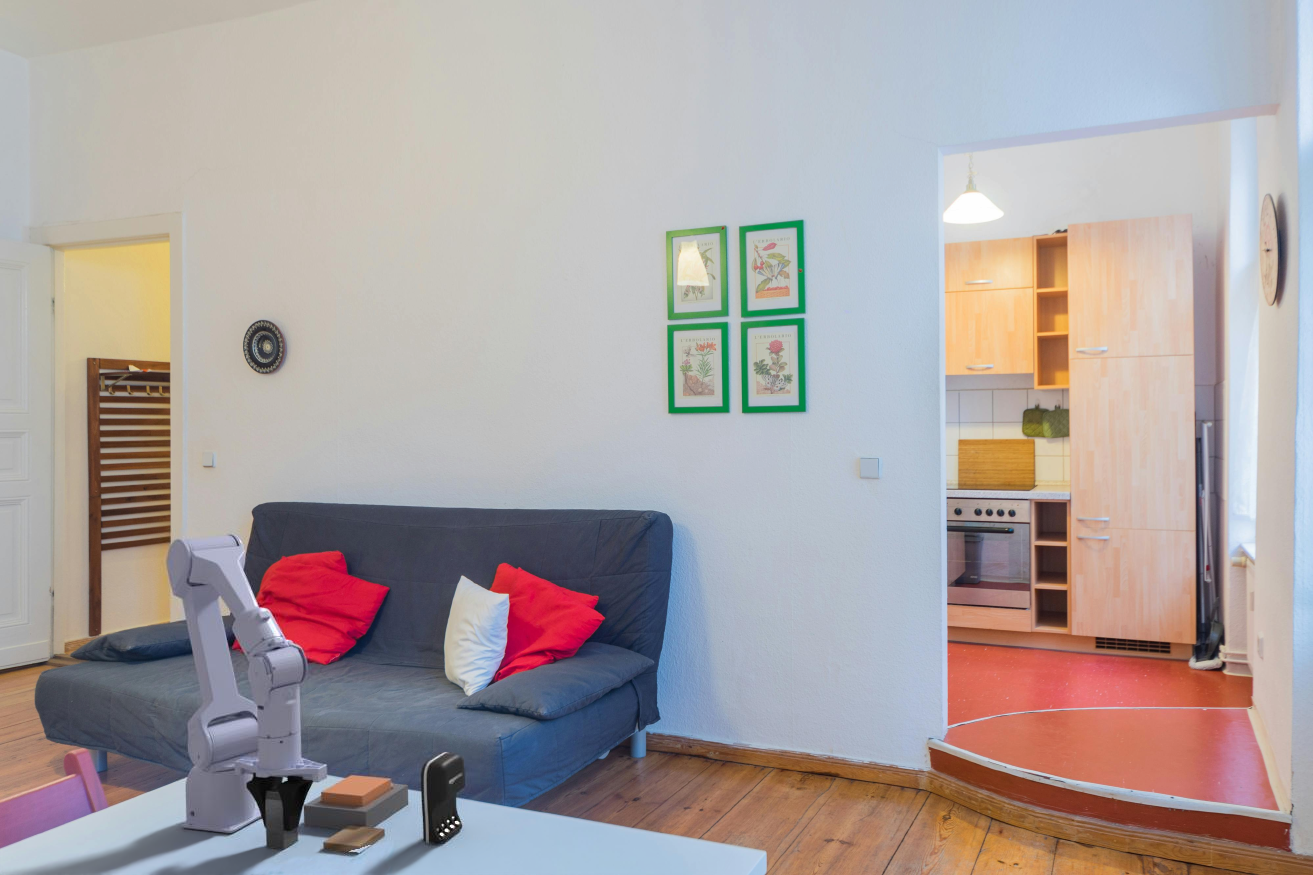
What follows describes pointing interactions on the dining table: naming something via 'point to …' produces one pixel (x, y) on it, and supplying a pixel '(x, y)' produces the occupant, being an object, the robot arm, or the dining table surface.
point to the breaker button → (356, 791)
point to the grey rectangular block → (277, 822)
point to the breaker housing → (356, 810)
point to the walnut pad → (353, 838)
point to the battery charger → (441, 796)
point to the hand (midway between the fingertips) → (281, 826)
